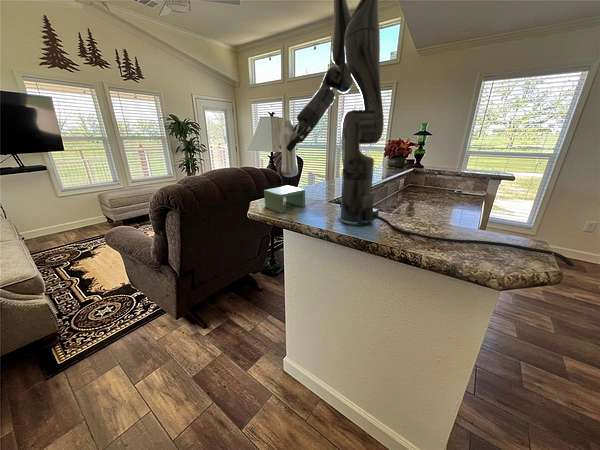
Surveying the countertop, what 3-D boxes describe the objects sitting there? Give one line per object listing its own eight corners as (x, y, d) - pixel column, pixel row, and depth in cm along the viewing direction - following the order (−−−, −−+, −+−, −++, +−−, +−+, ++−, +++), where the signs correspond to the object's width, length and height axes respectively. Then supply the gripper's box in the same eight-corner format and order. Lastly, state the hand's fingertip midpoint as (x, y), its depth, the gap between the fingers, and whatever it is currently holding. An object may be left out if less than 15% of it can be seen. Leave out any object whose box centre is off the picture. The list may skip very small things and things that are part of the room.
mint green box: (305, 206, 94) (304, 189, 92) (281, 213, 87) (280, 194, 84) (288, 201, 102) (287, 185, 99) (265, 207, 95) (263, 190, 92)
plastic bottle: (301, 175, 93) (299, 120, 85) (293, 178, 87) (290, 119, 79) (287, 174, 95) (284, 121, 88) (278, 178, 90) (274, 120, 82)
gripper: (297, 108, 91) (270, 141, 91) (315, 103, 79) (285, 142, 78) (309, 122, 95) (284, 155, 95) (328, 120, 83) (299, 157, 83)
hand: (284, 149), depth 87 cm, fingers closed on plastic bottle, 6 cm apart
